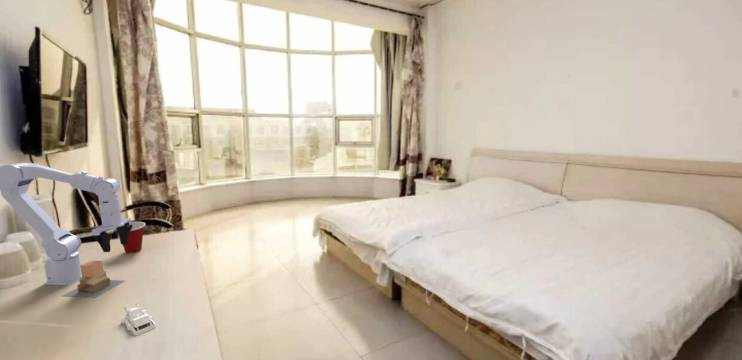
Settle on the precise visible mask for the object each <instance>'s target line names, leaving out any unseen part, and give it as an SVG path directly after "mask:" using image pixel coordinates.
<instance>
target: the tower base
mask: <svg viewBox="0 0 742 360" xmlns="http://www.w3.org/2000/svg"><path fill="white" fill-rule="evenodd" d="M110 280H111V279H110V277H107V278H106V279H104V280H102V281H100V282H99V283H97V284H95V285H84V284H80V283H78V284H77V286H76V288H78V292H89V293H95V292H97V291H99V290H101V289H103V288H105V287H106V286H108V285H110Z"/></svg>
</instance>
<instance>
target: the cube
mask: <svg viewBox="0 0 742 360" xmlns="http://www.w3.org/2000/svg"><path fill="white" fill-rule="evenodd" d="M80 267H81V273H82V277H95V276H97V275H99V274H101V273H103V272H104V265H103V261H102V260H89V261H88V262H85V263H82V264H81V265H80Z"/></svg>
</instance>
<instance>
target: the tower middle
mask: <svg viewBox="0 0 742 360" xmlns="http://www.w3.org/2000/svg"><path fill="white" fill-rule="evenodd" d="M103 271H104V270H103ZM107 276H108V275H107V271H106V270H105V271H104V272H103V273H101V274H99V275H97V276H95V277H82V276H81V277H79V280H78V282H79V284H84V285H95V284H97V283H99V282H100V281H102V280H104V279H106V278H107Z"/></svg>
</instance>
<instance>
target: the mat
mask: <svg viewBox="0 0 742 360" xmlns="http://www.w3.org/2000/svg"><path fill="white" fill-rule="evenodd" d="M124 282H125V280H120V279H119V280H118V279H116V280H115V279H110V285H108V286H106V287H105V288H103V289H101V290H99V291H97V292H95V293H89V292H78V287H76V288H74V289H72V290H71V291H68V292H67V293H65V294H63V295H61V297H68V298H69V297H70V298H71V297H72V298H85V299H86V298H87V299H88V298H90V299H96V298H98V297H99V296H101V295H103V294H105V293H106V292H108V291H110V290H113V288H116V287H117V286H119V285H120V284H123V283H124Z"/></svg>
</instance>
